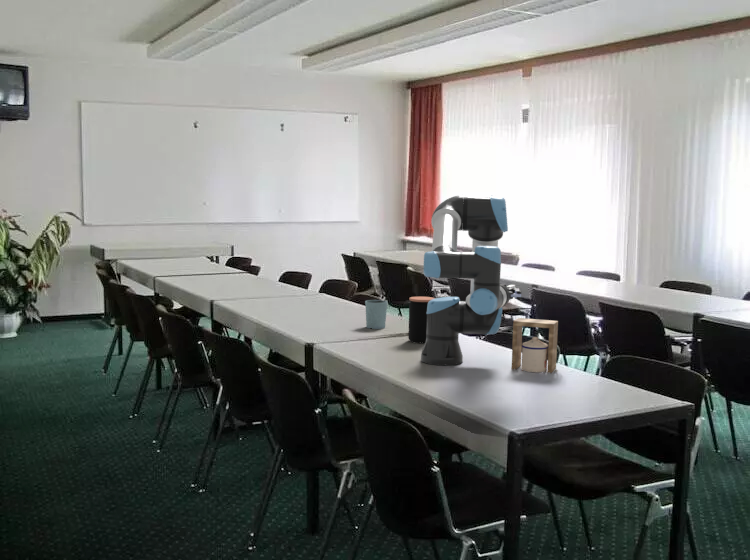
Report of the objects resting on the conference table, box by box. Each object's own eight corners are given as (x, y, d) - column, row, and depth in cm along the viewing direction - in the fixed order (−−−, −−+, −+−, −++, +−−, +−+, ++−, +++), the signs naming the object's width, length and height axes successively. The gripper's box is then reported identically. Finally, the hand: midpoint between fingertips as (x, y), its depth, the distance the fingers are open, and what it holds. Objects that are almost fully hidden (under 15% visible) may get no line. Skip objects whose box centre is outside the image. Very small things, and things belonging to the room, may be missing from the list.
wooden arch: (511, 369, 278) (513, 320, 276) (516, 364, 285) (518, 317, 284) (551, 373, 273) (553, 324, 271) (556, 368, 280) (558, 320, 278)
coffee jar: (438, 340, 329) (439, 297, 328) (426, 344, 320) (427, 300, 319) (416, 338, 335) (417, 295, 333) (403, 341, 326) (404, 298, 324)
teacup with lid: (550, 373, 273) (552, 339, 272) (524, 373, 272) (526, 339, 271) (540, 365, 285) (542, 333, 284) (515, 365, 284) (517, 333, 283)
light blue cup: (362, 328, 356) (363, 302, 355) (366, 325, 366) (367, 299, 365) (385, 329, 355) (385, 303, 353) (388, 326, 365) (389, 300, 363)
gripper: (473, 307, 241) (493, 298, 262) (515, 310, 236) (532, 301, 257) (474, 283, 240) (493, 276, 262) (516, 285, 235) (533, 278, 257)
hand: (513, 288), depth 260 cm, fingers closed
